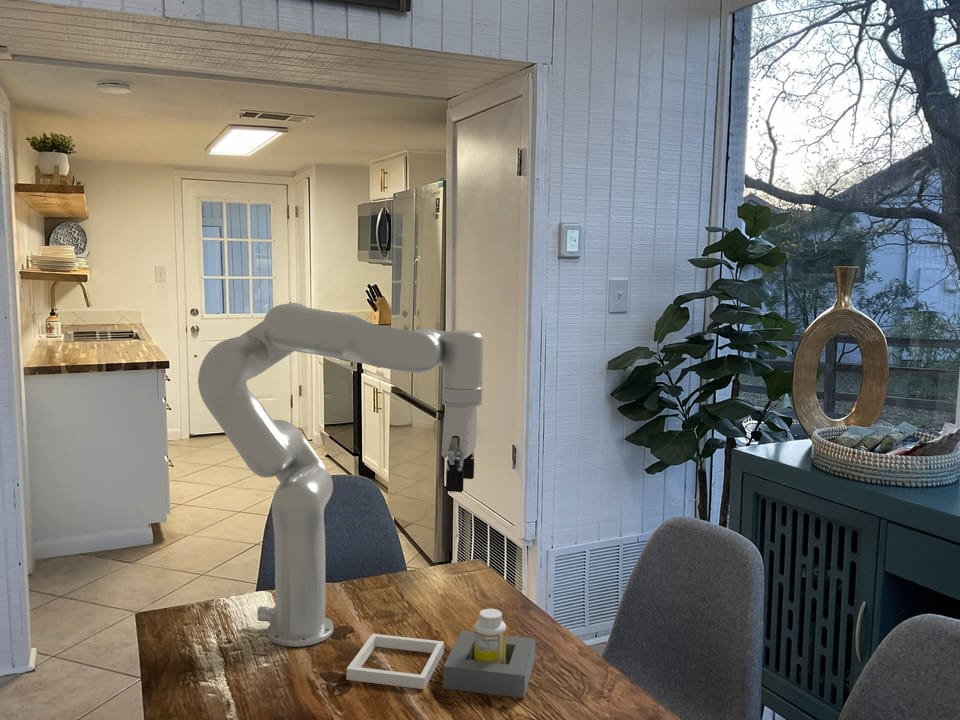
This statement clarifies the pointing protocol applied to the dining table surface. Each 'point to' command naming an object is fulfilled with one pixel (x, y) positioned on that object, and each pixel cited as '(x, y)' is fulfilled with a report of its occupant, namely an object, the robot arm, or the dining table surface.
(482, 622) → the supplement bottle
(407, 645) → the tray rim
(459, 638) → the gray square socket block
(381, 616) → the dining table surface
